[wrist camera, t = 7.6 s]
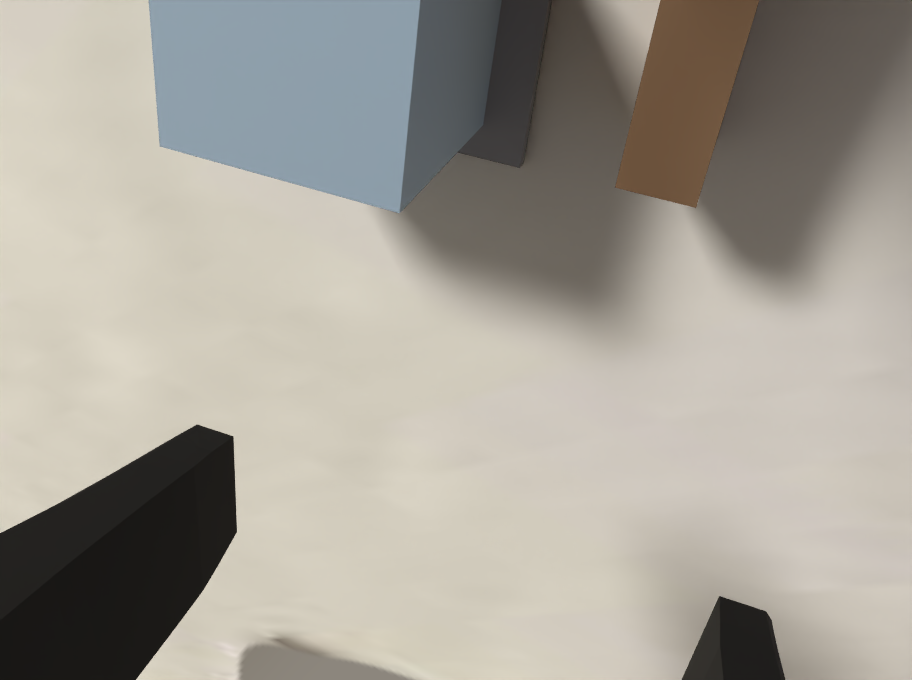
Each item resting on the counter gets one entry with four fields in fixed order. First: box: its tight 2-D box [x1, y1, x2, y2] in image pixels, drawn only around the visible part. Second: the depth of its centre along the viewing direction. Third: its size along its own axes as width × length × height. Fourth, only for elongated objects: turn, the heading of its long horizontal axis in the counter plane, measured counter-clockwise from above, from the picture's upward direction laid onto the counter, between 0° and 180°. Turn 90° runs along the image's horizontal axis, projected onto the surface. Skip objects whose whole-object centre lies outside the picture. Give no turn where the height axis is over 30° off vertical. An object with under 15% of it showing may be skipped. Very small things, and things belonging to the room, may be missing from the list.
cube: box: [149, 0, 502, 213], centre depth 17 cm, size 5×5×5 cm
